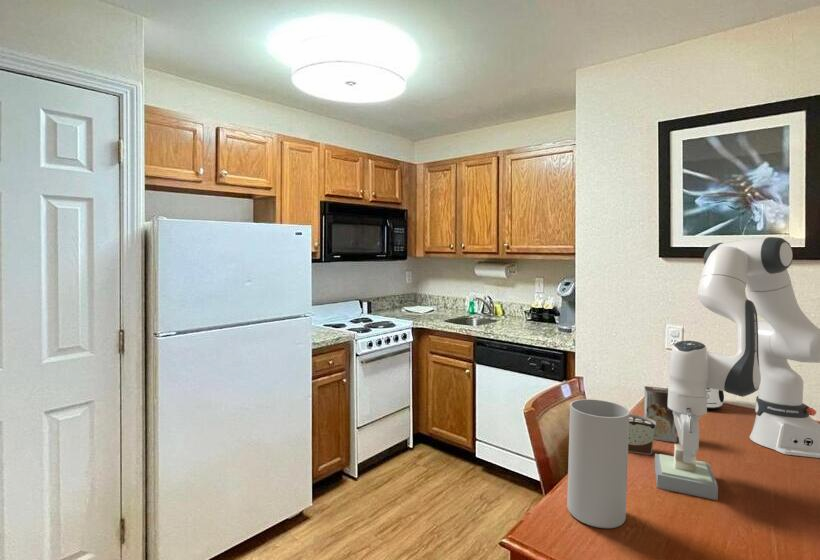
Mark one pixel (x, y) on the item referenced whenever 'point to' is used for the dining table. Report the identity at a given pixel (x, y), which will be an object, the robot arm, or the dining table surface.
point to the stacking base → (685, 478)
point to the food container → (641, 434)
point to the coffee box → (660, 413)
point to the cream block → (679, 460)
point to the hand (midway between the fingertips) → (684, 454)
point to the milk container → (714, 398)
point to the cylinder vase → (598, 462)
